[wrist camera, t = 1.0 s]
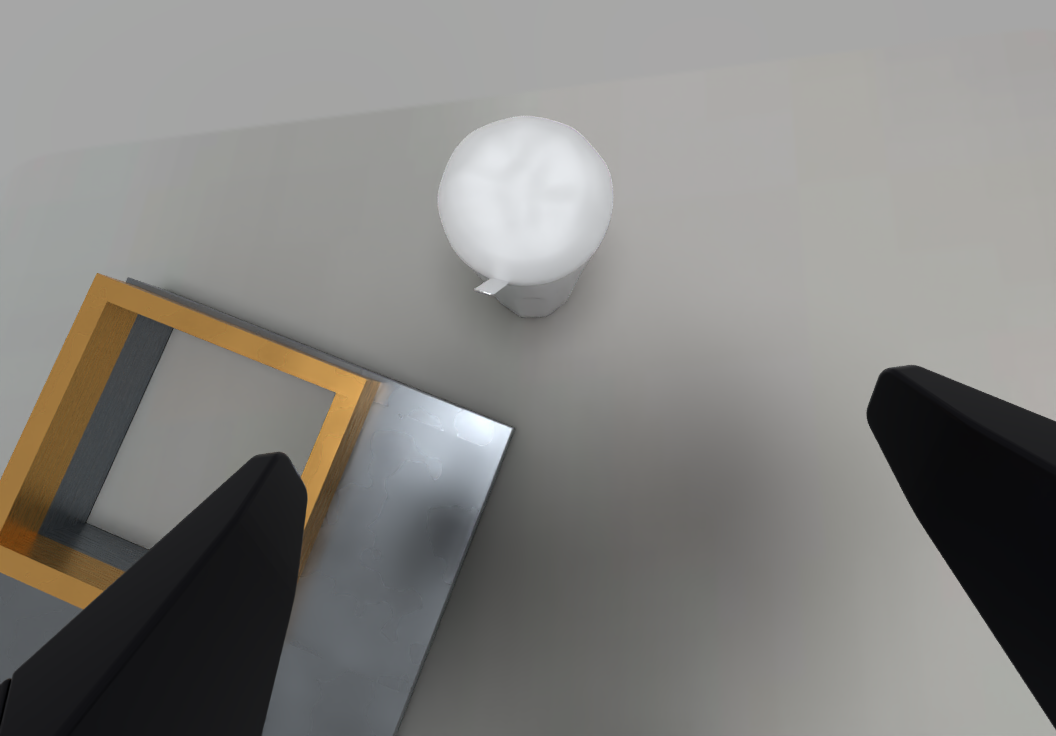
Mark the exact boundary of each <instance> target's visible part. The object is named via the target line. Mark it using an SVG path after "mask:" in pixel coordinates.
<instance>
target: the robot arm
mask: <svg viewBox="0 0 1056 736" xmlns="http://www.w3.org/2000/svg"><path fill="white" fill-rule="evenodd" d="M867 421H868V424H869V426H870V428H871V430H872V432H873V434H874V436H875V438H876V440H877V442H878V444H879V446H880V448H881V450H882V452H883V454H884V456H885V458H886V460H887V462H888V464H889V466H890V467H891V469H892V471H893V473H894V475H895V477H896V479H897V481H898V483H899V485H900V487H901V489H902V491H903V493H904V495H905V497H906V499H907V500H908V502H909V504H910V506H911V508H912V509H913V511H914V513H915V515H916V516H917V518H918V520H919V521H920V523H921V524H922V526H923V528H924V529H925V531H926V532H927V534H928V535H929V537H930V538H931V540H932V541H933V543H934V545H935V546H936V548H937V549H938V551H939V552H940V554H941V555H942V557H943V558H944V560H945V561H946V563H947V564H948V566H949V567H950V569H951V571H952V572H953V574H954V575H955V577H956V578H957V580H958V581H959V583H960V584H961V586H962V587H963V589H964V590H965V592H966V593H967V595H968V596H969V598H970V600H971V601H972V603H973V604H974V606H975V607H976V609H977V610H978V612H979V613H980V615H981V616H982V618H983V619H984V621H985V622H986V624H987V626H988V627H989V629H990V630H991V632H992V633H993V635H994V636H995V638H996V639H997V641H998V642H999V644H1000V645H1001V647H1002V648H1003V650H1004V651H1005V653H1006V655H1007V656H1008V658H1009V659H1010V661H1011V662H1012V664H1013V665H1014V667H1015V668H1016V670H1017V671H1018V673H1019V674H1020V676H1021V677H1022V679H1023V680H1024V682H1025V684H1026V685H1027V687H1028V688H1029V690H1030V691H1031V693H1032V694H1033V696H1034V697H1035V699H1036V700H1037V702H1038V703H1039V705H1040V706H1041V708H1042V710H1043V711H1044V713H1045V714H1046V716H1047V717H1048V719H1049V720H1050V722H1051V723H1052V725H1053V726H1054V728H1055V729H1056V421H1053V420H1051V419H1048V418H1046V417H1044V416H1041V415H1039V414H1036V413H1034V412H1031V411H1029V410H1026V409H1024V408H1021V407H1019V406H1016V405H1014V404H1011V403H1009V402H1006V401H1004V400H1001V399H999V398H997V397H994V396H992V395H989V394H987V393H984V392H982V391H979V390H977V389H974V388H972V387H969V386H967V385H964V384H962V383H959V382H957V381H954V380H952V379H949V378H947V377H945V376H942V375H940V374H937V373H935V372H932V371H930V370H927V369H925V368H922V367H920V366H916V365H906V366H899V367H892V368H887V369H885V370H884V371H882V372H881V373H880V375H879V377H878V380H877V383H876V385H875V388H874V391H873V393H872V396H871V399H870V402H869V404H868V407H867ZM307 501H308V495H307V490H306V487H305V484H304V483H303V481H302V479H301V477H300V476H299V474H298V472H297V471H296V469H295V467H294V466H293V464H292V462H291V460H290V459H289V457H288V456H287V455H286V454H285V453H283V452H273V453H266V454H259V455H256V456H254V457H253V458H251V459H250V460H249V461H248V462H247V463H246V464H244V465H243V466H242V467H241V468H240V469H239V470H238V471H237V472H236V473H234V474H233V475H232V476H231V477H230V478H229V479H228V480H227V481H226V482H224V483H223V484H222V485H221V486H220V487H219V488H218V489H217V490H216V491H214V492H213V493H212V494H211V495H210V496H209V497H208V498H207V499H206V500H204V501H203V502H202V503H201V504H200V505H199V506H198V507H197V508H196V509H194V510H193V511H192V512H191V513H190V514H189V515H188V516H187V517H186V518H184V519H183V520H182V521H181V522H180V523H179V524H178V525H177V526H176V527H174V528H173V529H172V530H171V531H170V532H169V533H168V534H167V535H166V536H164V537H163V538H162V539H161V540H160V541H159V542H158V543H157V544H156V545H154V546H153V547H152V548H151V549H150V550H149V551H148V552H147V553H146V554H144V555H143V556H142V557H141V558H140V559H139V560H138V561H137V562H136V563H134V564H133V565H132V566H131V567H130V568H129V569H128V570H127V571H126V572H124V573H123V574H122V575H121V576H120V577H119V578H118V579H117V580H116V581H114V582H113V583H112V584H111V585H110V586H109V587H108V588H107V589H106V590H104V591H103V592H102V593H101V594H100V595H99V596H98V597H97V598H96V599H94V600H93V601H92V602H91V603H90V604H89V605H88V606H87V607H86V608H84V609H83V610H82V611H81V612H80V613H79V614H78V615H77V616H75V617H74V618H73V619H72V620H71V621H70V622H69V623H68V624H67V625H65V626H64V627H63V628H62V629H61V630H60V631H59V632H58V633H57V634H55V635H54V636H53V637H52V638H51V639H50V640H49V641H48V642H47V643H45V644H44V645H43V646H42V647H41V648H40V649H39V650H38V651H37V652H35V653H34V654H33V655H32V656H31V657H30V658H29V659H28V660H27V661H25V662H24V663H23V664H22V665H21V666H20V667H19V668H18V669H17V670H15V672H14V673H13V674H12V678H8V679H6V680H4V681H3V682H2V683H1V684H0V736H262V732H263V728H264V724H265V720H266V716H267V711H268V707H269V703H270V699H271V695H272V691H273V686H274V682H275V678H276V674H277V670H278V666H279V662H280V657H281V653H282V649H283V645H284V641H285V637H286V633H287V628H288V624H289V620H290V616H291V612H292V607H293V603H294V598H295V593H296V587H297V580H298V573H299V565H300V557H301V549H302V541H303V533H304V525H305V517H306V510H307Z"/></svg>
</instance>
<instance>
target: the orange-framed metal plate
mask: <svg viewBox="0 0 1056 736" xmlns="http://www.w3.org/2000/svg"><path fill="white" fill-rule="evenodd" d="M173 328H175V329H178V330H180V331H183V332H185V333H188V334H190V335H193V336H195V337H198V338H200V339H203V340H205V341H208V342H210V343H213V344H215V345H218V346H220V347H223V348H226V349H228V350H231V351H233V352H236V353H238V354H241V355H243V356H246V357H248V358H251V359H253V360H256V361H258V362H261V363H263V364H266V365H268V366H271V367H273V368H276V369H278V370H281V371H283V372H286V373H288V374H291V375H293V376H296V377H298V378H301V379H303V380H306V381H308V382H311V383H313V384H316V385H318V386H321V387H323V388H326V389H328V390H331V391H333V392H336V395H335V397H334V400H333V402H332V404H331V407H330V409H329V412H328V414H327V416H326V419H325V421H324V423H323V426H322V428H321V431H320V433H319V435H318V438H317V440H316V443H315V445H314V447H313V450H312V452H311V454H310V457H309V459H308V462H307V464H306V466H305V469H304V471H303V474H302V476H301V479H302V481H303V483H304V484H305V487H306V490H307V495H308V501H307V510H306V517H305V525H304V533H303V541H302V549H301V557H300V565H299V573H298V580H297V587H296V593H295V598H294V603H293V607H292V612H291V616H290V620H289V624H288V628H287V633H286V637H285V641H284V645H283V649H282V653H281V657H280V662H279V666H278V670H277V674H276V678H275V682H274V686H273V691H272V695H271V699H270V703H269V707H268V711H267V716H266V720H265V724H264V728H263V732H262V736H396V734H397V731H398V729H399V726H400V723H401V721H402V718H403V716H404V713H405V711H406V708H407V705H408V703H409V700H410V698H411V695H412V693H413V690H414V687H415V685H416V682H417V680H418V677H419V675H420V672H421V669H422V667H423V664H424V662H425V659H426V657H427V654H428V651H429V649H430V646H431V644H432V641H433V639H434V636H435V633H436V631H437V628H438V626H439V623H440V621H441V618H442V615H443V613H444V610H445V608H446V605H447V603H448V600H449V597H450V595H451V592H452V590H453V587H454V585H455V582H456V579H457V577H458V574H459V572H460V569H461V567H462V564H463V561H464V559H465V556H466V554H467V551H468V549H469V546H470V543H471V541H472V538H473V536H474V533H475V531H476V528H477V525H478V523H479V520H480V518H481V515H482V513H483V510H484V507H485V505H486V502H487V500H488V497H489V495H490V492H491V489H492V487H493V484H494V482H495V479H496V477H497V474H498V471H499V469H500V466H501V464H502V461H503V459H504V456H505V453H506V451H507V448H508V446H509V443H510V441H511V438H512V435H513V433H514V430H515V427H513V426H510V425H507V424H505V423H502V422H500V421H497V420H495V419H492V418H490V417H487V416H485V415H482V414H480V413H477V412H474V411H472V410H469V409H467V408H464V407H462V406H459V405H457V404H454V403H452V402H449V401H446V400H444V399H441V398H439V397H436V396H434V395H431V394H429V393H426V392H424V391H421V390H419V389H416V388H413V387H411V386H408V385H406V384H403V383H401V382H398V381H396V380H393V379H391V378H388V377H386V376H383V375H380V374H378V373H375V372H373V371H370V370H368V369H365V368H363V367H360V366H358V365H355V364H352V363H350V362H347V361H345V360H342V359H340V358H337V357H335V356H332V355H330V354H327V353H325V352H322V351H319V350H317V349H314V348H312V347H309V346H307V345H304V344H302V343H299V342H297V341H294V340H291V339H289V338H286V337H284V336H281V335H279V334H276V333H274V332H271V331H269V330H266V329H264V328H261V327H258V326H256V325H253V324H251V323H248V322H246V321H243V320H241V319H238V318H236V317H233V316H231V315H228V314H225V313H223V312H220V311H218V310H215V309H213V308H210V307H208V306H205V305H203V304H200V303H197V302H195V301H192V300H190V299H187V298H185V297H182V296H180V295H177V294H175V293H172V292H170V291H167V290H164V289H161V288H158V287H155V286H152V285H149V284H147V283H144V282H141V281H138V280H135V279H132V278H129V277H128V278H127V280H126V282H123V281H120V280H117V279H114V278H111V277H108V276H105V275H102V274H99V273H97V274H96V276H95V278H94V280H93V283H92V285H91V287H90V289H89V291H88V293H87V295H86V298H85V300H84V302H83V304H82V306H81V308H80V310H79V313H78V315H77V317H76V319H75V321H74V323H73V325H72V328H71V330H70V332H69V334H68V336H67V338H66V340H65V343H64V345H63V347H62V349H61V351H60V353H59V355H58V358H57V360H56V362H55V364H54V366H53V368H52V370H51V373H50V375H49V377H48V379H47V381H46V383H45V385H44V388H43V390H42V392H41V394H40V396H39V398H38V400H37V403H36V405H35V407H34V409H33V411H32V413H31V415H30V418H29V420H28V422H27V424H26V426H25V428H24V430H23V433H22V435H21V437H20V439H19V441H18V443H17V445H16V448H15V450H14V452H13V454H12V456H11V458H10V460H9V463H8V465H7V467H6V469H5V471H4V473H3V475H2V478H1V480H0V684H1V683H2V682H3V681H4V680H6V679H8V678H12V674H13V673H14V672H15V670H17V669H18V668H19V667H20V666H21V665H22V664H23V663H24V662H25V661H27V660H28V659H29V658H30V657H31V656H32V655H33V654H34V653H35V652H37V651H38V650H39V649H40V648H41V647H42V646H43V645H44V644H45V643H47V642H48V641H49V640H50V639H51V638H52V637H53V636H54V635H55V634H57V633H58V632H59V631H60V630H61V629H62V628H63V627H64V626H65V625H67V624H68V623H69V622H70V621H71V620H72V619H73V618H74V617H75V616H77V615H78V614H79V613H80V612H81V611H82V610H83V609H84V608H86V607H87V606H88V605H89V604H90V603H91V602H92V601H93V600H94V599H96V598H97V597H98V596H99V595H100V594H101V593H102V592H103V591H104V590H106V589H107V588H108V587H109V586H110V585H111V584H112V583H113V582H114V581H116V580H117V579H118V578H119V577H120V576H121V575H122V574H123V573H124V572H126V571H127V570H128V569H129V568H130V567H131V566H132V565H133V564H134V563H136V562H137V561H138V560H139V559H140V558H141V557H142V556H143V555H144V554H146V553H147V552H148V551H149V550H147V549H145V548H142V547H140V546H138V545H135V544H133V543H131V542H128V541H126V540H124V539H122V538H119V537H117V536H115V535H112V534H110V533H108V532H105V531H103V530H101V529H98V528H96V527H94V526H92V525H89V524H87V523H85V522H86V520H87V518H88V516H89V513H90V511H91V509H92V507H93V504H94V502H95V500H96V498H97V496H98V493H99V491H100V489H101V487H102V484H103V482H104V480H105V478H106V476H107V473H108V471H109V469H110V467H111V464H112V462H113V460H114V458H115V456H116V453H117V451H118V449H119V447H120V445H121V442H122V440H123V438H124V436H125V433H126V431H127V429H128V427H129V425H130V422H131V420H132V418H133V416H134V413H135V411H136V409H137V407H138V405H139V402H140V400H141V398H142V396H143V393H144V391H145V389H146V387H147V385H148V382H149V380H150V378H151V376H152V373H153V371H154V369H155V367H156V365H157V362H158V360H159V358H160V356H161V353H162V351H163V349H164V347H165V345H166V342H167V340H168V338H169V336H170V334H171V331H172V329H173Z"/></svg>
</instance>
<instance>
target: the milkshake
mask: <svg viewBox="0 0 1056 736" xmlns="http://www.w3.org/2000/svg"><path fill="white" fill-rule="evenodd" d="M438 210H439V215H440V219H441V222H442V225H443V228H444V231H445V233H446V236H447V238H448V240H449V242H450V244H451V246H452V248H453V249H454V251H455V252H456V254H457V255H458V256H459V257H460V258H461V260H462V261H463V262H465V263H466V264H467V265H468V266H469V267H470V268H471V269H472V270H473V271H474V272H475V273H476V274H477V275H478V276H479V277H480V278H481V279H482V281H483V282H484V283H482V284H481V285H479V286H478V287H476V288H475V289H474V291H475V292H479V293H482V294H486V295H489V296H493V295H494V296H495V297H496V298H497V300H498V301H499V302H500V303H501V304H502V305H504V306H505V307H507V308H508V309H510V310H511V311H513V312H514V313H516V314H517V315H518V316H520V317H521V318H526V317H547V316H548V315H550V314H551V313H552V312H553V311H555V310H556V309H557V308H559V307H560V306H561V305H563V304H564V303H565V302H566V301H567V300H568V298H569V296H570V294H571V292H572V290H573V288H574V286H575V285H576V283H577V281H578V279H579V277H580V275H581V273H582V271H583V270H584V268H585V266H586V265H587V263H588V262H589V260H590V259H591V257H592V256H593V254H594V253H595V251H596V250H597V248H598V247H599V245H600V244H601V242H602V240H603V238H604V236H605V233H606V231H607V228H608V225H609V222H610V219H611V215H612V210H613V184H612V179H611V174H610V171H609V169H608V166H607V164H606V163H605V161H604V160H603V158H602V157H601V156H600V154H599V153H598V152H597V151H596V150H595V149H594V147H593V146H592V145H591V144H590V143H589V142H588V141H587V139H586V138H585V137H584V136H583V135H582V134H581V133H579V132H578V131H577V130H576V129H574V128H572V127H570V126H568V125H566V124H563V123H561V122H557V121H554V120H551V119H546V118H542V117H536V116H516V117H511V118H506V119H503V120H499V121H496V122H493V123H490V124H487V125H485V126H482V127H480V128H478V129H476V130H475V131H473V132H472V133H470V134H469V135H468V136H466V137H465V138H464V139H463V140H462V141H461V142H460V144H459V145H458V146H457V147H456V149H455V150H454V152H453V153H452V155H451V157H450V159H449V161H448V163H447V166H446V168H445V171H444V174H443V176H442V179H441V183H440V186H439V191H438Z"/></svg>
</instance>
